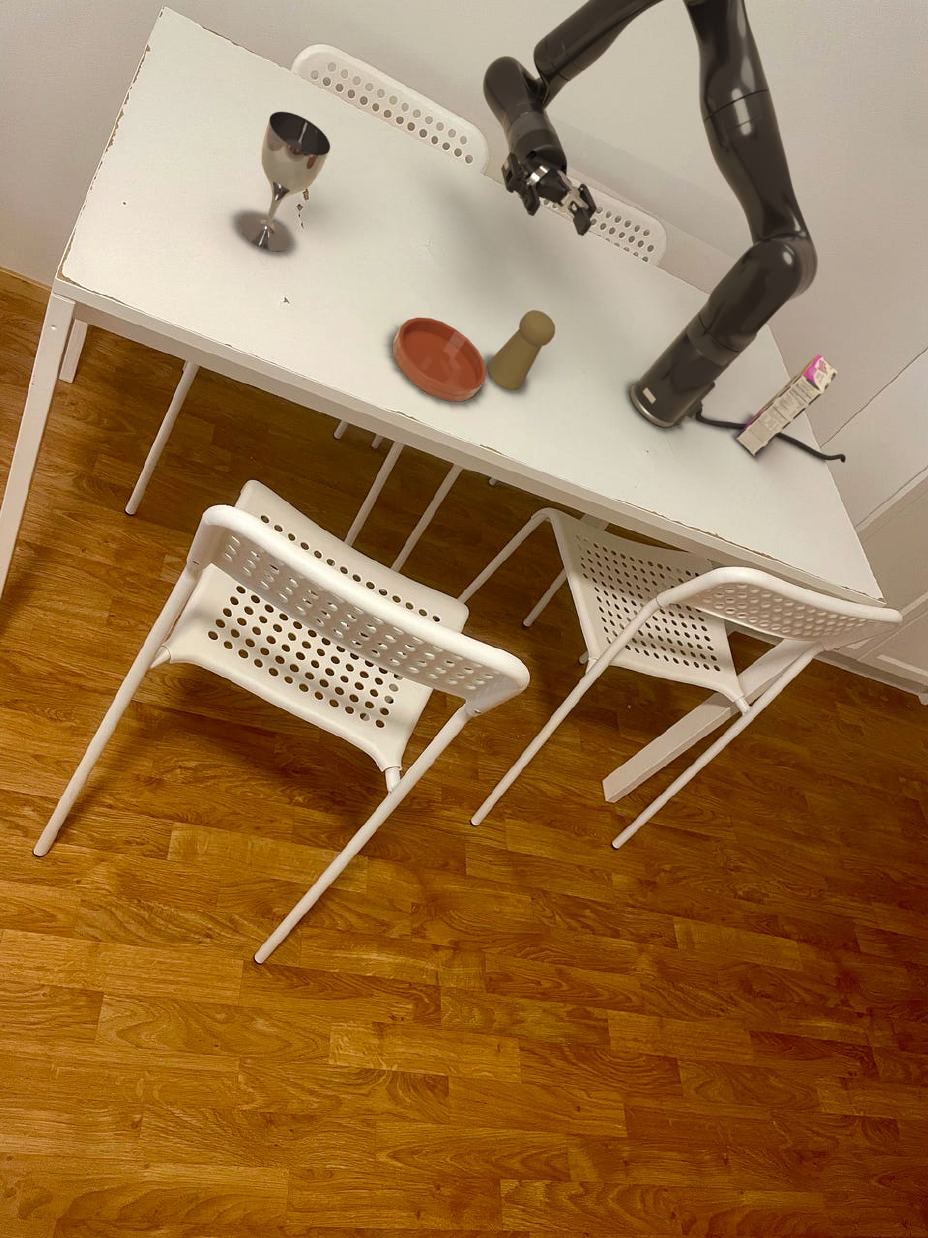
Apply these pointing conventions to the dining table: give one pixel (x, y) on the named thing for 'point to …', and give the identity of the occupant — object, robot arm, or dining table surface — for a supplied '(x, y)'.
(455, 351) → the dish
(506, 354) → the brown game pawn
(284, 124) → the silver goblet
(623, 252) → the dining table surface
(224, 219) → the dining table surface
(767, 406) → the candy bar box
